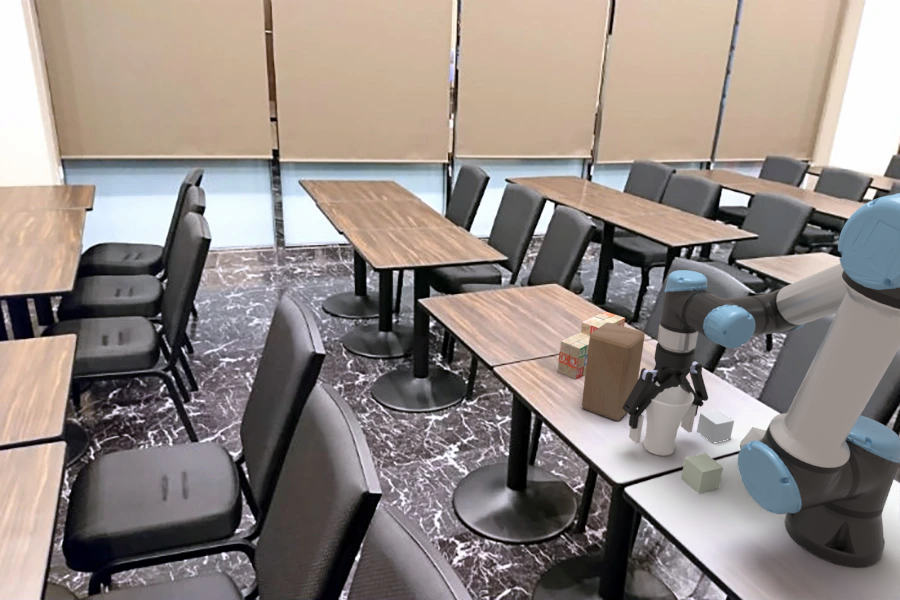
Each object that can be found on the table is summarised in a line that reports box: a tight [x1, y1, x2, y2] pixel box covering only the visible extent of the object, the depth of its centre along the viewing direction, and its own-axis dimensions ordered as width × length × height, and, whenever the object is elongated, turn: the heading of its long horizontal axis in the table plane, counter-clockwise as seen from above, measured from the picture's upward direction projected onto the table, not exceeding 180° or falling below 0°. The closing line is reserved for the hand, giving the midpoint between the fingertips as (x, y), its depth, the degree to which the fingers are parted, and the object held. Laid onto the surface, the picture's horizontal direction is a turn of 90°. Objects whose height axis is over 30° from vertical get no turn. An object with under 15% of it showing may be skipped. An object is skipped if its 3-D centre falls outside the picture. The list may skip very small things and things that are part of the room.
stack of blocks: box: [557, 311, 626, 380], centre depth 173 cm, size 21×6×12 cm, turn 134°
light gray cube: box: [696, 409, 735, 444], centre depth 142 cm, size 5×5×5 cm
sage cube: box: [681, 452, 724, 494], centre depth 125 cm, size 5×5×5 cm
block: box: [581, 323, 646, 421], centre depth 149 cm, size 10×10×20 cm
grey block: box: [739, 427, 767, 450], centre depth 131 cm, size 8×9×10 cm
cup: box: [642, 382, 694, 456], centre depth 135 cm, size 10×10×14 cm
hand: (660, 434), depth 136 cm, fingers open, 13 cm apart
